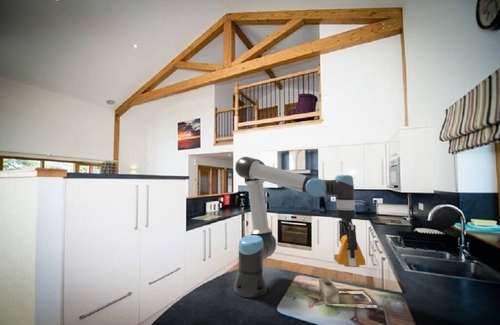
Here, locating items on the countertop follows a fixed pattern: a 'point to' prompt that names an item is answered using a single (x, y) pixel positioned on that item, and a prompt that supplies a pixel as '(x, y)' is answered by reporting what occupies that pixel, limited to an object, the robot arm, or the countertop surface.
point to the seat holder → (332, 293)
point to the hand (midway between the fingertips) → (348, 262)
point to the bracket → (343, 254)
